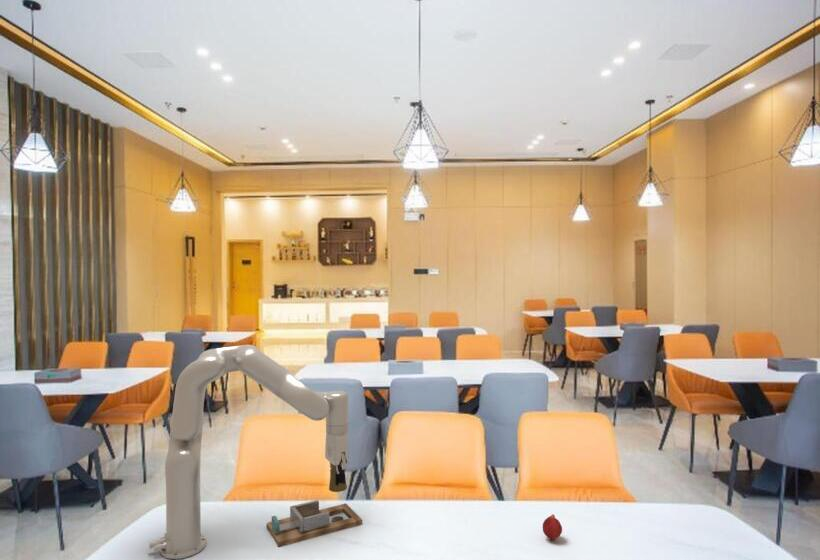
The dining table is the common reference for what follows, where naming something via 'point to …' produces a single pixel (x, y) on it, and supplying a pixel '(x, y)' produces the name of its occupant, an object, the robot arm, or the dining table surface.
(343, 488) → the olive tapered rounded piece
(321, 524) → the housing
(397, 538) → the dining table surface
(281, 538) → the board
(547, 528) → the onion
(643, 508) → the dining table surface
